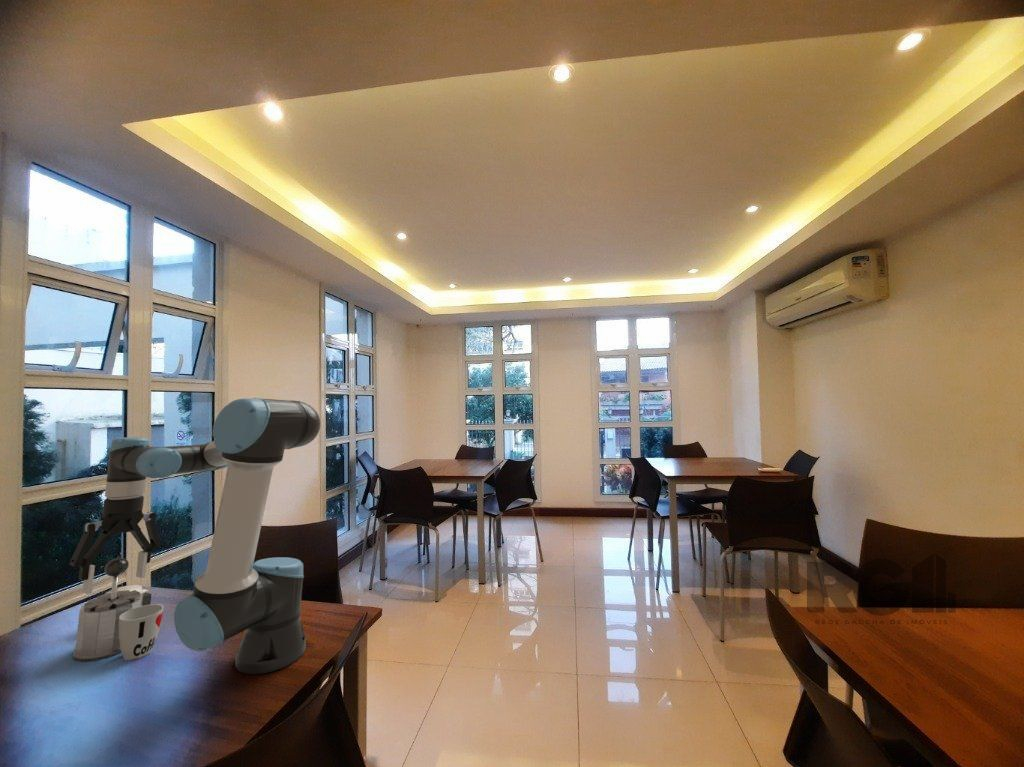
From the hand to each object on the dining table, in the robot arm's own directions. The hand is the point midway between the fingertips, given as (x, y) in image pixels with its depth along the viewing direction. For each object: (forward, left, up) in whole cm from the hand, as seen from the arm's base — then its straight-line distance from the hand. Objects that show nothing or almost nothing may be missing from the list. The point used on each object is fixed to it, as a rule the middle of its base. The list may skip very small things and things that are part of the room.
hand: (114, 584), depth 101 cm
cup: (-10, -2, -16) cm, 19 cm away
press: (0, 0, -15) cm, 15 cm away
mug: (+11, -7, -15) cm, 20 cm away
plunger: (0, 0, -14) cm, 14 cm away
